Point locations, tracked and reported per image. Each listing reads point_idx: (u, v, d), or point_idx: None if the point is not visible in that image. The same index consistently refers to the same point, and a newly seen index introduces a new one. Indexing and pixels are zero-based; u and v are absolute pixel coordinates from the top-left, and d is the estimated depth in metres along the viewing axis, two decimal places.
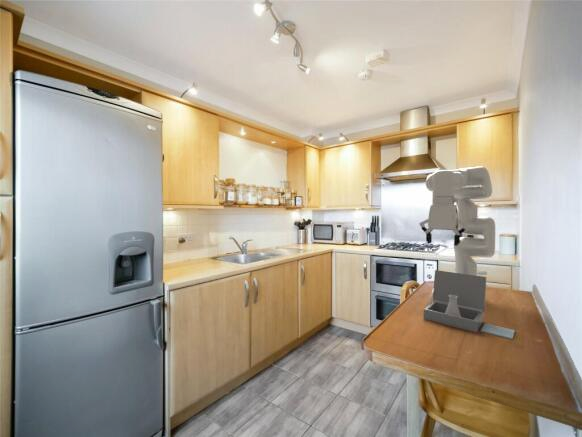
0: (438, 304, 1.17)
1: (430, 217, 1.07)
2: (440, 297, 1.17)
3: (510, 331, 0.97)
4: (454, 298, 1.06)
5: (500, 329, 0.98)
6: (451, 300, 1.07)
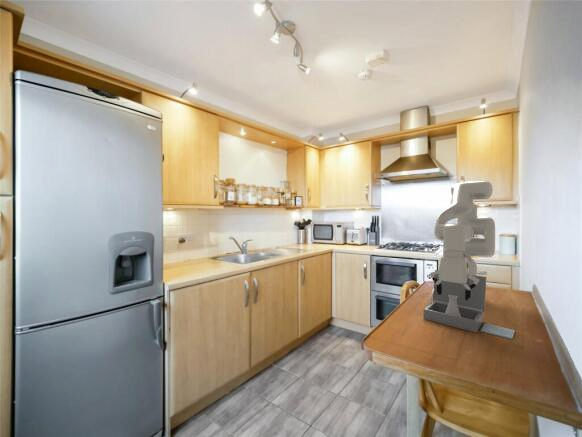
0: (438, 304, 1.17)
1: (441, 269, 1.08)
2: (440, 297, 1.17)
3: (510, 331, 0.97)
4: (454, 298, 1.06)
5: (500, 329, 0.98)
6: (451, 300, 1.07)
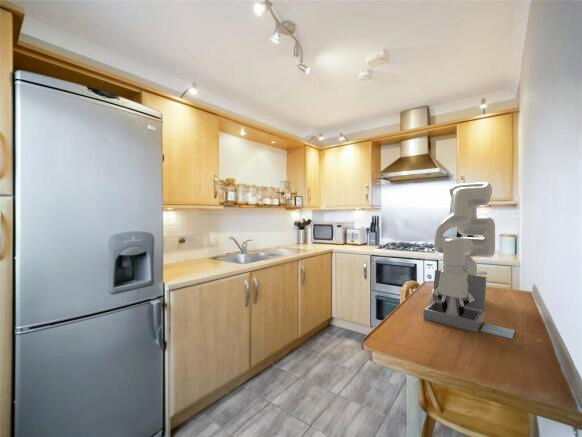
0: (438, 304, 1.17)
1: (441, 283, 1.09)
2: None
3: (510, 331, 0.97)
4: (454, 298, 1.06)
5: (500, 329, 0.98)
6: (451, 300, 1.07)
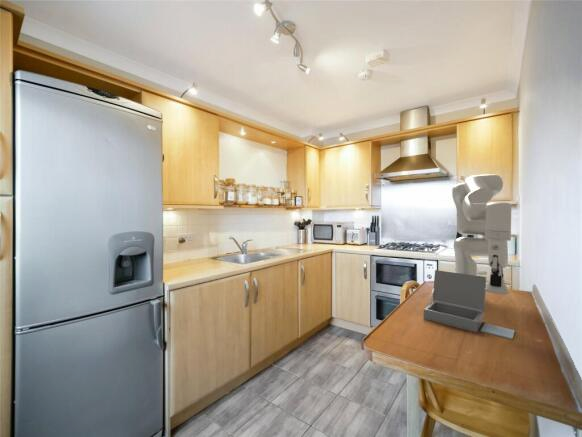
0: (438, 304, 1.17)
1: None
2: (440, 297, 1.17)
3: (510, 331, 0.97)
4: None
5: (500, 329, 0.98)
6: None
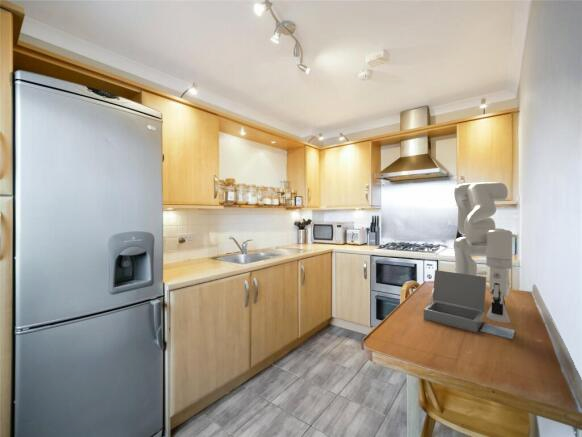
0: (438, 304, 1.17)
1: None
2: (440, 297, 1.17)
3: (510, 331, 0.97)
4: None
5: (500, 329, 0.98)
6: None
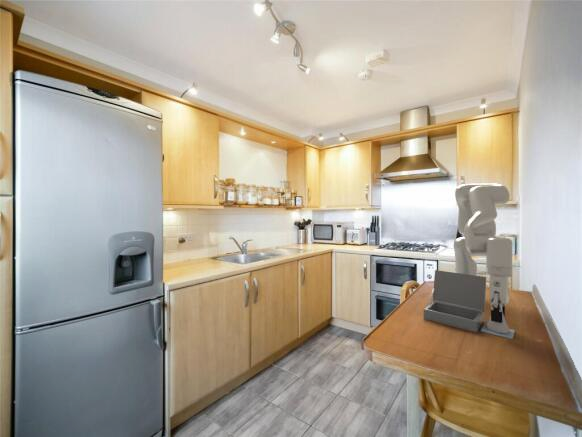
0: (438, 304, 1.17)
1: None
2: (440, 297, 1.17)
3: (510, 331, 0.97)
4: None
5: None
6: None
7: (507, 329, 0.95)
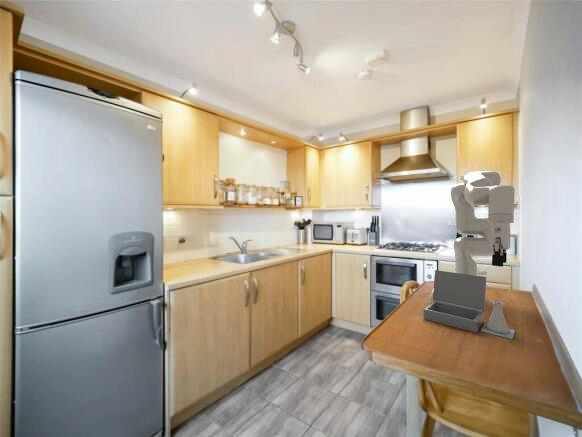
0: (438, 304, 1.17)
1: None
2: (440, 297, 1.17)
3: (510, 331, 0.97)
4: (493, 304, 0.98)
5: None
6: None
7: (507, 329, 0.95)
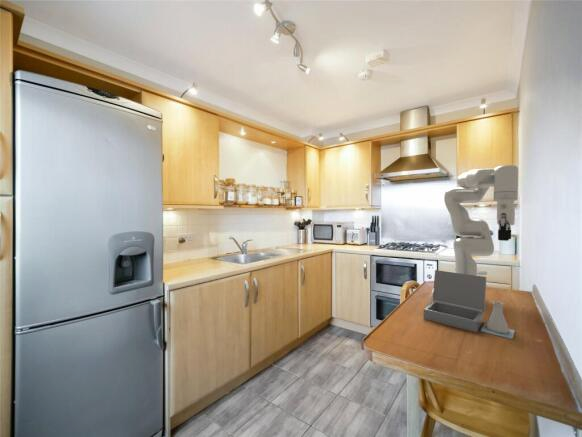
0: (438, 304, 1.17)
1: None
2: (440, 297, 1.17)
3: (510, 331, 0.97)
4: (493, 304, 0.98)
5: None
6: None
7: (507, 329, 0.95)
